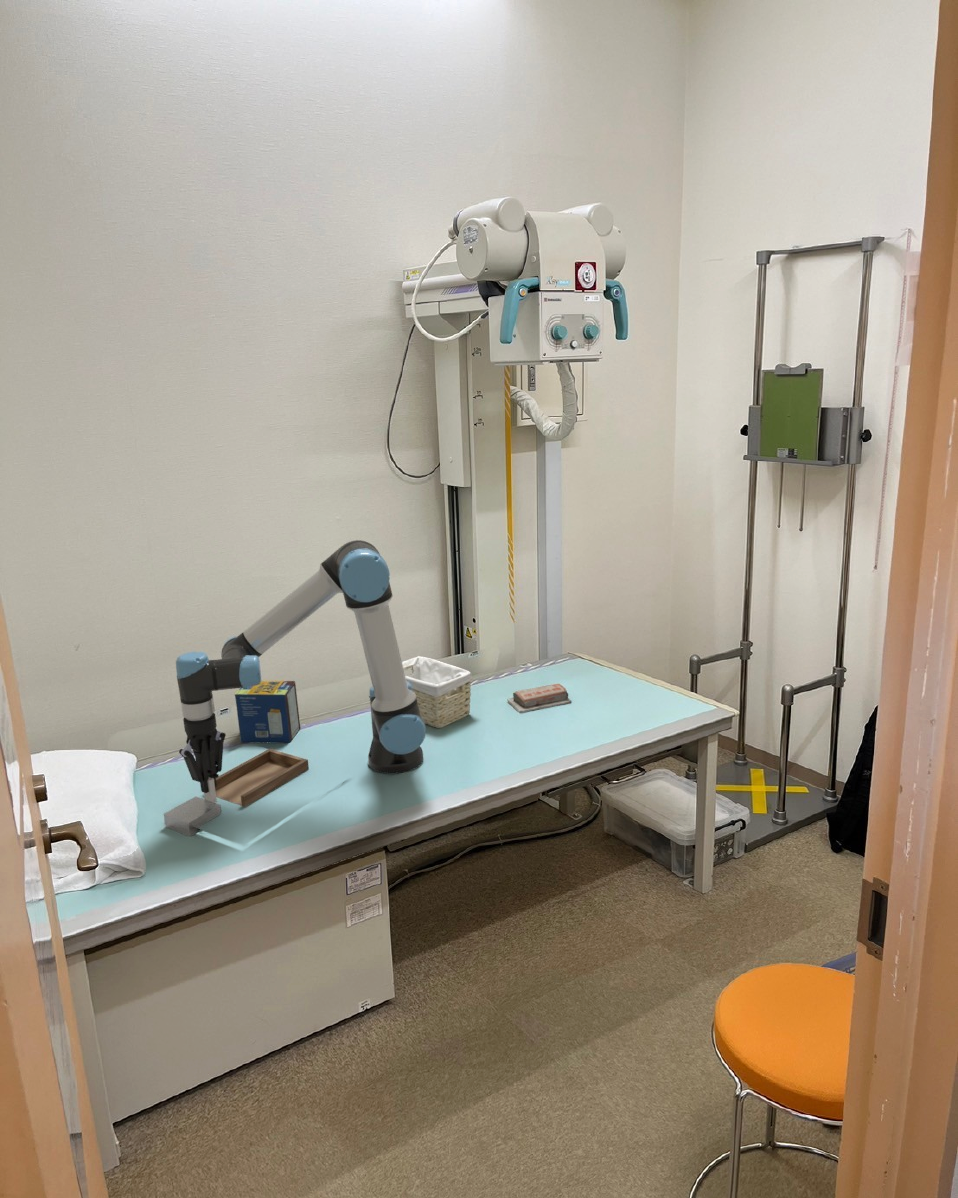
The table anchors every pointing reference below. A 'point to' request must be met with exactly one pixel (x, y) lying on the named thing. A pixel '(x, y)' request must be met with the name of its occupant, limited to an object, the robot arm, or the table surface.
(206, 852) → the table surface
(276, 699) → the protein box
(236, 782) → the walnut box
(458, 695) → the storage basket
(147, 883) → the table surface
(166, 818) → the gray rectangular block
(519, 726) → the table surface
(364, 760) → the table surface
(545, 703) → the packaged product
